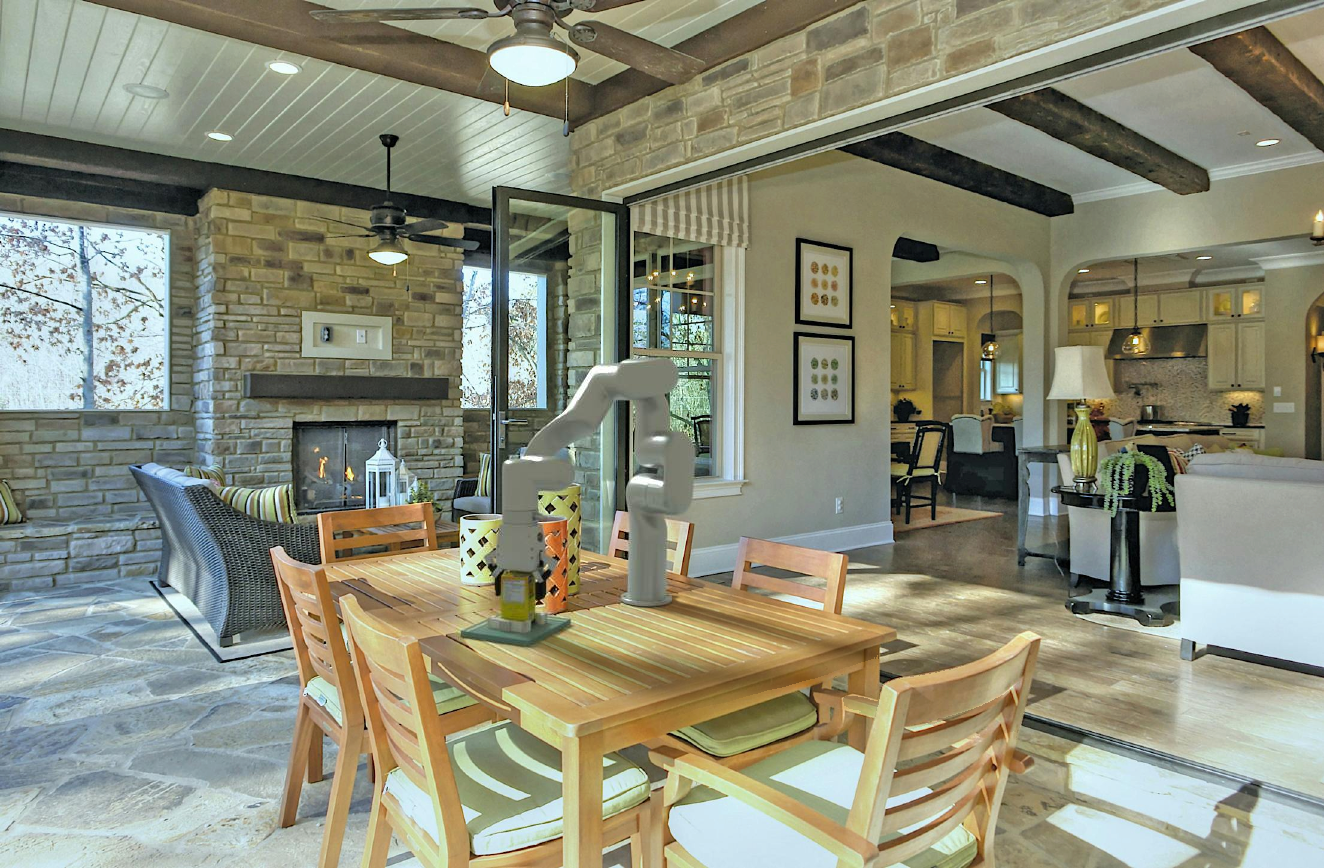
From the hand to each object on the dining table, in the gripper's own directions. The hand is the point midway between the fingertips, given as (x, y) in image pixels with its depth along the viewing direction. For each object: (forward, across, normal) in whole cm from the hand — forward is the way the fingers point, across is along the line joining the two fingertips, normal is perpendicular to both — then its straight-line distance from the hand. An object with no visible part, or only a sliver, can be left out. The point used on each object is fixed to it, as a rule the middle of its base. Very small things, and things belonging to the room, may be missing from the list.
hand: (520, 597), depth 170 cm
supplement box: (+6, 0, +1) cm, 6 cm away
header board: (+7, 0, +1) cm, 7 cm away
